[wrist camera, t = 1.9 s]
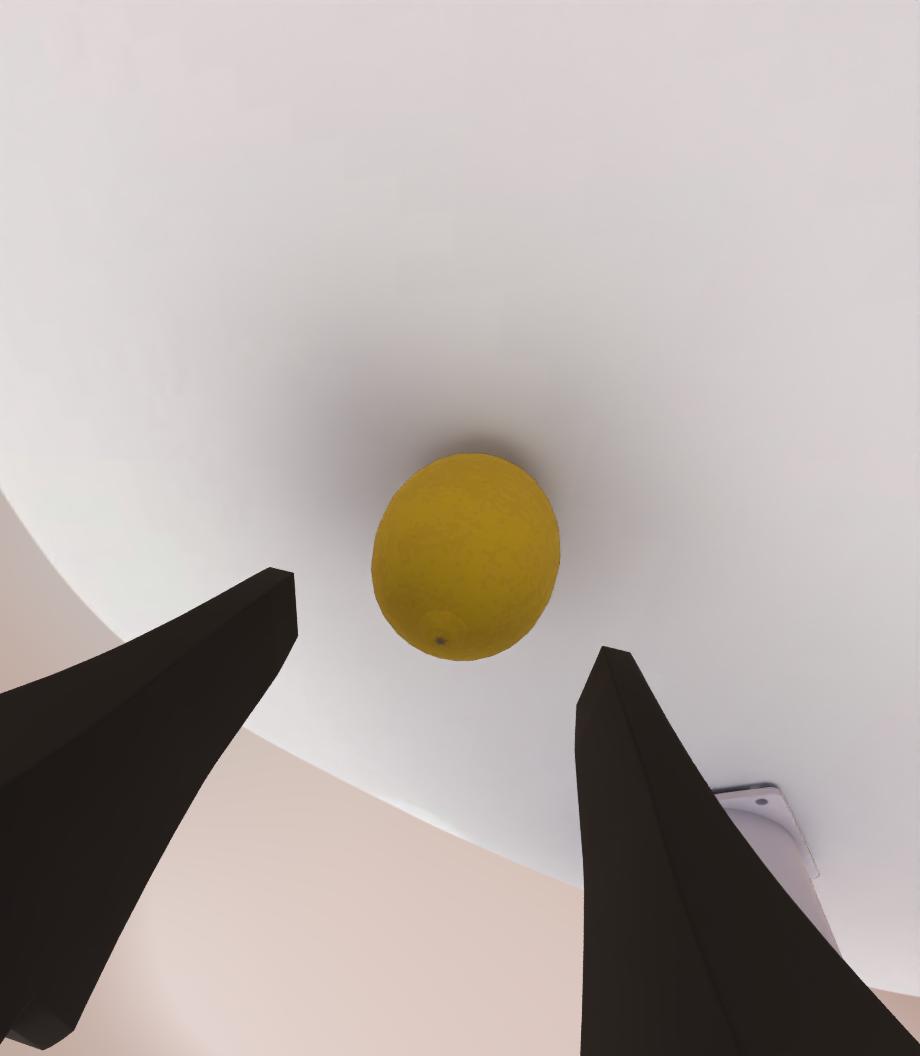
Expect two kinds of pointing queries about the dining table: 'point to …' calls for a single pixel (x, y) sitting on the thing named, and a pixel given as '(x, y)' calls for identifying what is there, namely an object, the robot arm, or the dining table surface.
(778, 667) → the dining table surface
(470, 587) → the lemon
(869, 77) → the dining table surface
